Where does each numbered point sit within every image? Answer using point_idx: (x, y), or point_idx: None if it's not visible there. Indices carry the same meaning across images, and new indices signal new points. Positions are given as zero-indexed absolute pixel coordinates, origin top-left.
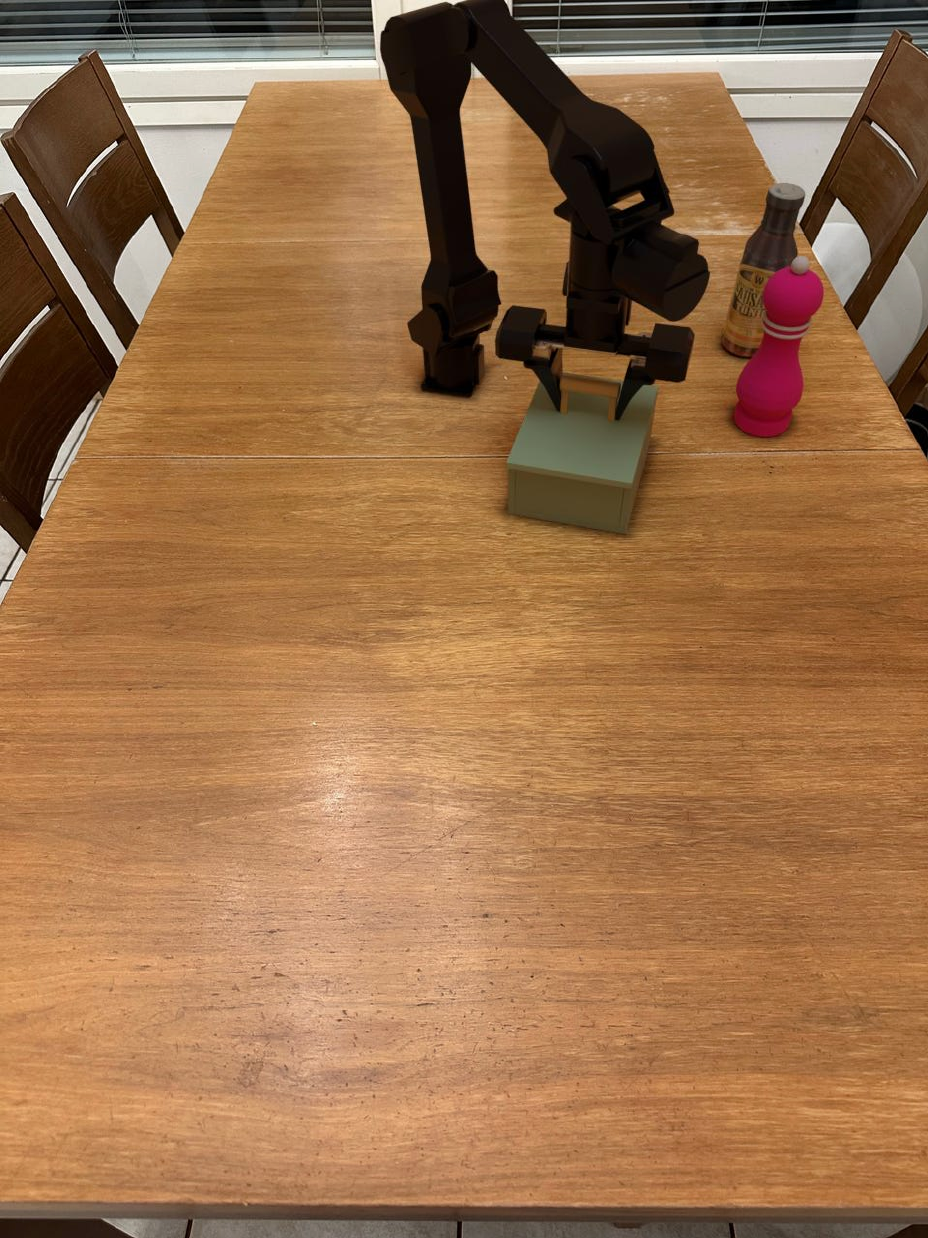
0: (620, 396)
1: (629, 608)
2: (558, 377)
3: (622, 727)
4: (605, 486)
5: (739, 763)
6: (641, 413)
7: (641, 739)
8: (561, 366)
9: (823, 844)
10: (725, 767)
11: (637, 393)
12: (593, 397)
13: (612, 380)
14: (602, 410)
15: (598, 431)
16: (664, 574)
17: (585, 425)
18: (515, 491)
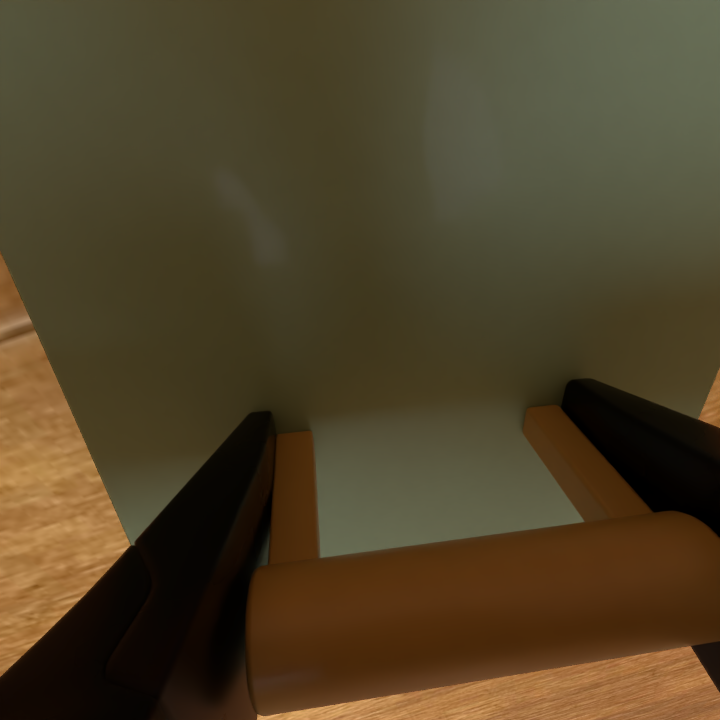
0: (709, 669)
1: None
2: (232, 713)
3: (520, 702)
4: None
5: (645, 687)
6: (693, 329)
7: (542, 703)
8: (194, 677)
9: (705, 708)
10: (630, 694)
11: (705, 138)
12: (423, 273)
13: (535, 3)
14: (490, 372)
15: (486, 504)
16: None
17: (424, 492)
18: None
